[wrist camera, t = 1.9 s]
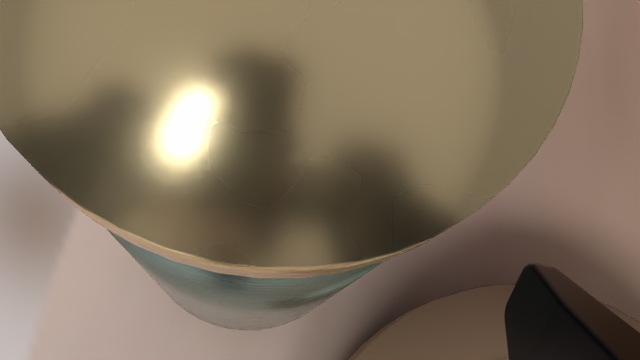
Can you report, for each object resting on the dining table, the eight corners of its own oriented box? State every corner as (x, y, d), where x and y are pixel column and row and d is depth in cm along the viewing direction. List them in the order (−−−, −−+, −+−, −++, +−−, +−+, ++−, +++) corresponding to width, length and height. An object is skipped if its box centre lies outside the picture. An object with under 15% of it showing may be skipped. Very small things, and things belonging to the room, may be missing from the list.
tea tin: (380, 307, 19) (669, 198, 6) (155, 356, 17) (-35, 339, 5) (332, 106, 20) (486, -289, 8) (125, 137, 19) (-72, -277, 7)
